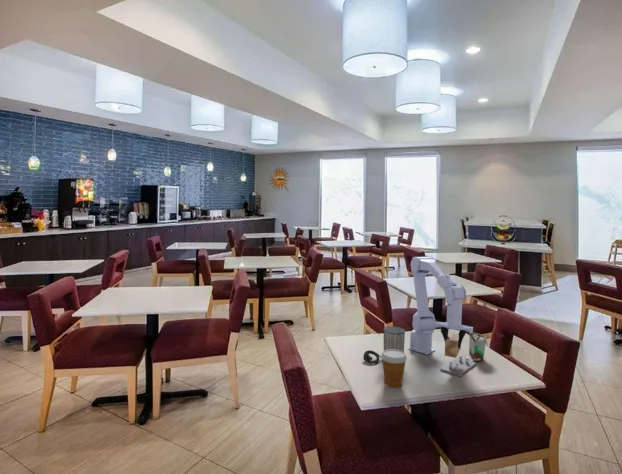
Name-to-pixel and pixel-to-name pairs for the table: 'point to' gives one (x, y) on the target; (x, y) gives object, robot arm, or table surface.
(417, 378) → the table surface
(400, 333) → the milk frother
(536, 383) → the table surface
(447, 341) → the shelf block
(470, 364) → the peg plate
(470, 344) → the food container
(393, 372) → the disposable coffee cup
